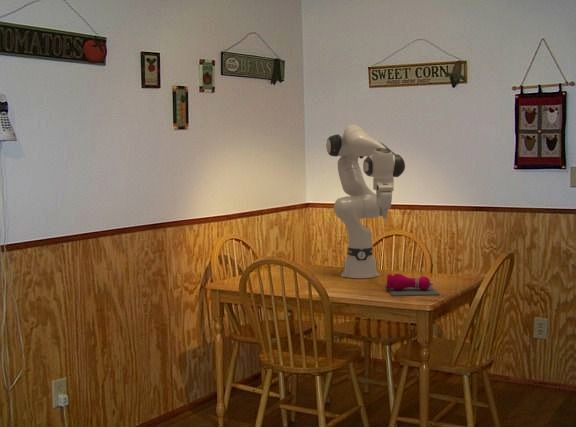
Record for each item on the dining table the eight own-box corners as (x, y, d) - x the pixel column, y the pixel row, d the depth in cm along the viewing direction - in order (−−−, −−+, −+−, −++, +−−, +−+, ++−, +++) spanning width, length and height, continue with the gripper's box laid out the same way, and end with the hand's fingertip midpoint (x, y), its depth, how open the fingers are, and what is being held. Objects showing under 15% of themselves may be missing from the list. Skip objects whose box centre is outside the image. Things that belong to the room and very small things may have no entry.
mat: (384, 286, 354) (384, 285, 354) (429, 285, 354) (429, 284, 354) (392, 296, 332) (392, 294, 332) (439, 295, 332) (439, 293, 332)
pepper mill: (387, 273, 339) (434, 276, 337) (387, 272, 346) (433, 274, 344) (386, 290, 339) (433, 293, 337) (386, 288, 346) (432, 291, 344)
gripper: (373, 183, 354) (372, 214, 356) (379, 187, 334) (379, 220, 336) (386, 183, 354) (386, 214, 356) (394, 187, 334) (394, 219, 336)
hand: (383, 217), depth 346 cm, fingers open, 8 cm apart
